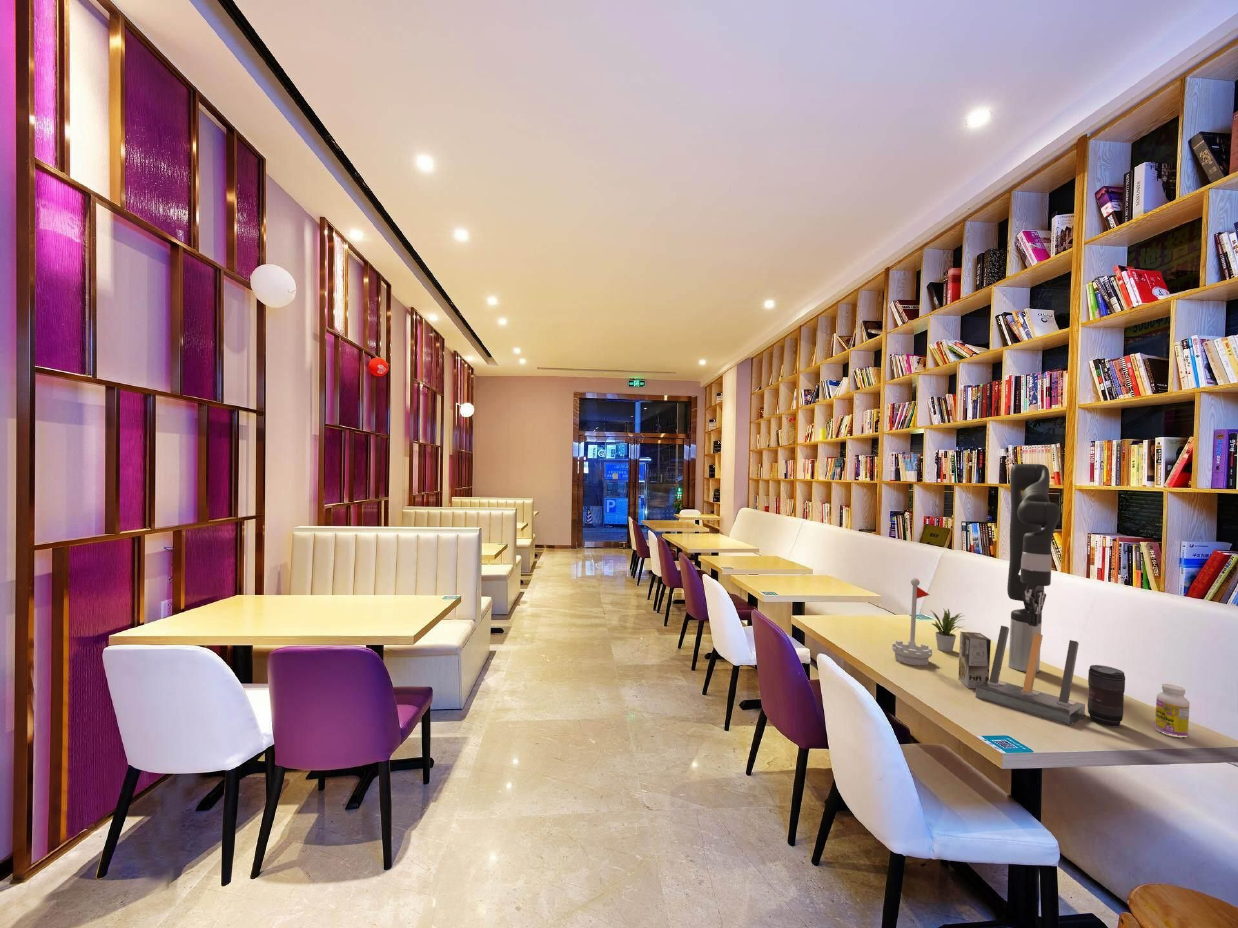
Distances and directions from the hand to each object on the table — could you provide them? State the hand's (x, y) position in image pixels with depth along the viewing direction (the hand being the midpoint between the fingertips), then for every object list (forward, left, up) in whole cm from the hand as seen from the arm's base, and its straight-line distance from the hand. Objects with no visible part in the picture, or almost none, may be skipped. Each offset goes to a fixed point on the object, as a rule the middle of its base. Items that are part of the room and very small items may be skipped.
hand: (1033, 625), depth 181 cm
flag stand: (-12, -41, -24) cm, 49 cm away
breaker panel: (+1, 0, -24) cm, 24 cm away
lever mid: (+3, 0, -20) cm, 20 cm away
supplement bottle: (-11, +30, -24) cm, 40 cm away
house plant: (-38, -39, -24) cm, 59 cm away
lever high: (+3, +9, -20) cm, 22 cm away
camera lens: (-4, +17, -24) cm, 30 cm away
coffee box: (-4, -17, -24) cm, 30 cm away
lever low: (+3, -9, -20) cm, 22 cm away
